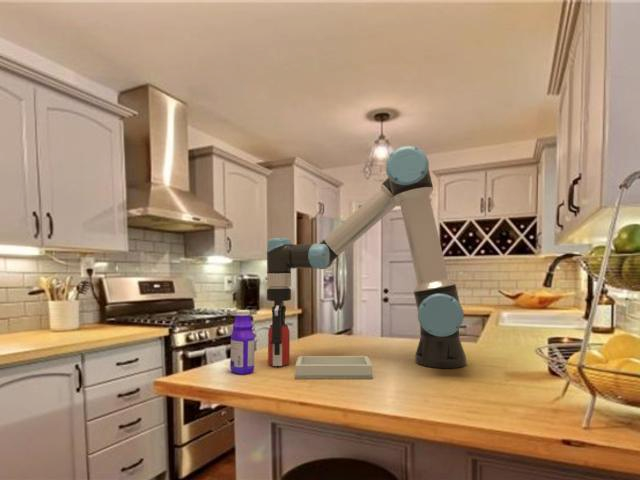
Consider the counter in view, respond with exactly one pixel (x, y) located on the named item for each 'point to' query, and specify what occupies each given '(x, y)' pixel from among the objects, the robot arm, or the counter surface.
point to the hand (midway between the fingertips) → (278, 362)
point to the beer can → (285, 345)
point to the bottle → (242, 344)
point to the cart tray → (333, 367)
